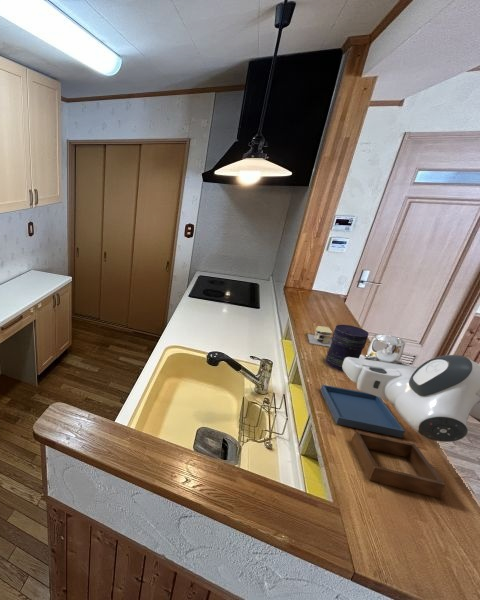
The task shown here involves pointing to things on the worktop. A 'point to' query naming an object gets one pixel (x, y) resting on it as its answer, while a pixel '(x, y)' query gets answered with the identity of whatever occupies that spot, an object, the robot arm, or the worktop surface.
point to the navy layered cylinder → (345, 345)
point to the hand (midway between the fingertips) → (379, 359)
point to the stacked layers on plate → (321, 336)
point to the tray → (361, 411)
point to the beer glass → (385, 348)
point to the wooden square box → (423, 484)
